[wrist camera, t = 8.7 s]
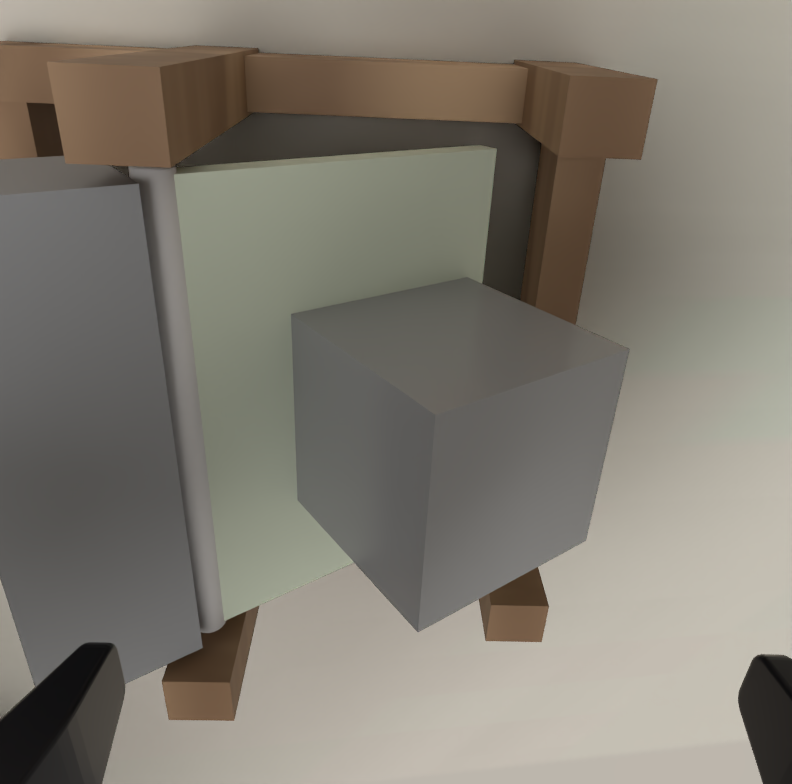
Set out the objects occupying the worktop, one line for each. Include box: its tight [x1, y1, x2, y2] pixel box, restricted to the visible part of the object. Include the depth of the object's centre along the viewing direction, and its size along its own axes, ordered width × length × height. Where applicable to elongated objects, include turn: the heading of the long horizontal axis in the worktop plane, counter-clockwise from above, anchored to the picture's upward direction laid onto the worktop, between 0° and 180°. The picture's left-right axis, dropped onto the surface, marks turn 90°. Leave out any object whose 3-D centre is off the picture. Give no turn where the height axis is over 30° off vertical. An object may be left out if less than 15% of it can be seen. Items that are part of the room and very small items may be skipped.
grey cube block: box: [291, 277, 629, 632], centre depth 15 cm, size 5×5×5 cm
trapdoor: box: [0, 145, 497, 687], centre depth 16 cm, size 12×11×3 cm
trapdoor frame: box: [0, 41, 658, 721], centre depth 17 cm, size 15×15×9 cm
